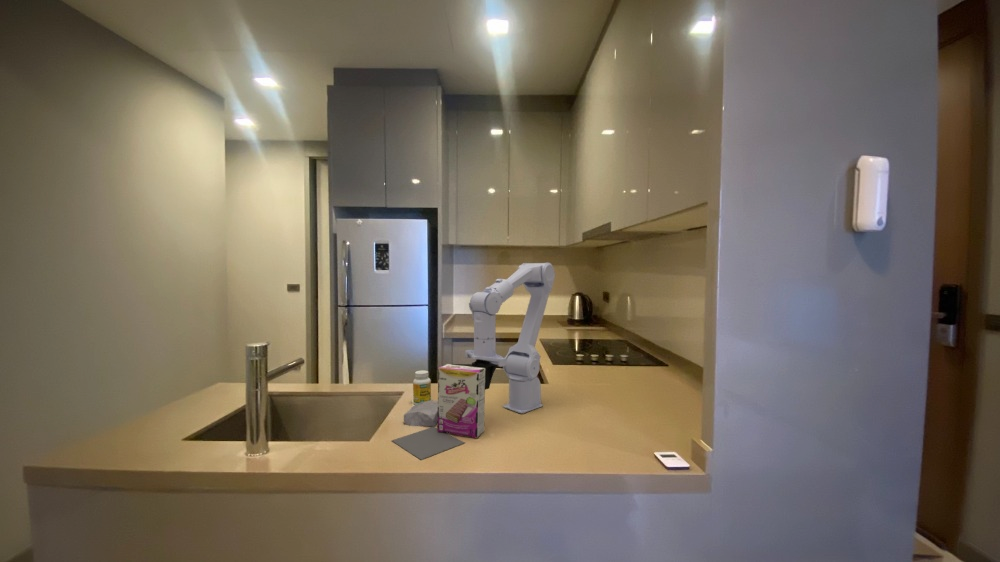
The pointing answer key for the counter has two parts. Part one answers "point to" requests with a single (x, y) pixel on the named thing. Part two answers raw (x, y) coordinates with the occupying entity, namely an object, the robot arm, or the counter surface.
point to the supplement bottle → (421, 387)
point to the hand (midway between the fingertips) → (484, 388)
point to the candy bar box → (461, 400)
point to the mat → (427, 443)
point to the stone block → (422, 414)
